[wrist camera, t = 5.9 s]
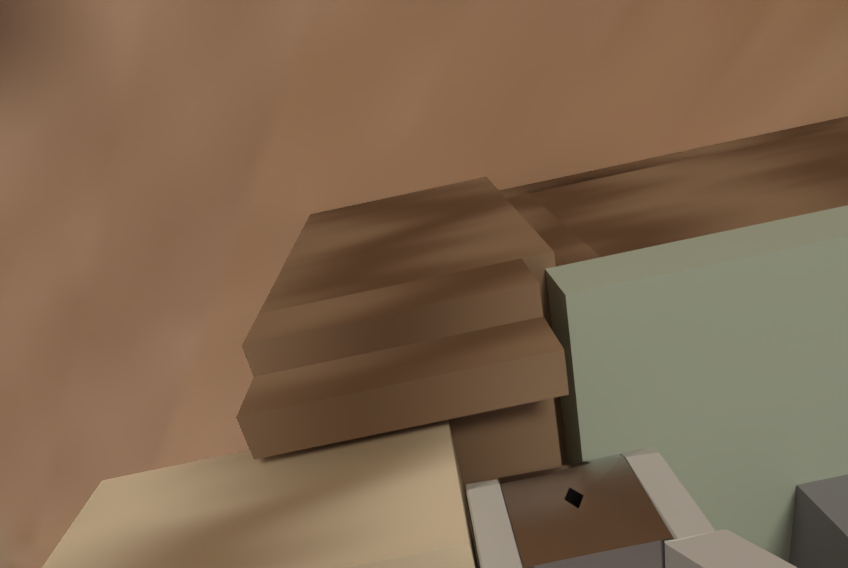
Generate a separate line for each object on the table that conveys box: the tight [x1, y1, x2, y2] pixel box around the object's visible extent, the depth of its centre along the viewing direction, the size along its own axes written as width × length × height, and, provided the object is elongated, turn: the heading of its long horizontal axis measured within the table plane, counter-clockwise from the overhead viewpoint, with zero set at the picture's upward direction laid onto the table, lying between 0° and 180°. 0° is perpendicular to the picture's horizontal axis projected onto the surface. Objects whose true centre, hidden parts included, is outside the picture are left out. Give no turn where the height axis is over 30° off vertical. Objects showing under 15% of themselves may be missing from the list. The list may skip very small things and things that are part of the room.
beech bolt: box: [42, 420, 479, 568], centre depth 8 cm, size 6×2×3 cm, turn 101°
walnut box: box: [236, 117, 848, 568], centre depth 14 cm, size 22×14×9 cm, turn 101°
